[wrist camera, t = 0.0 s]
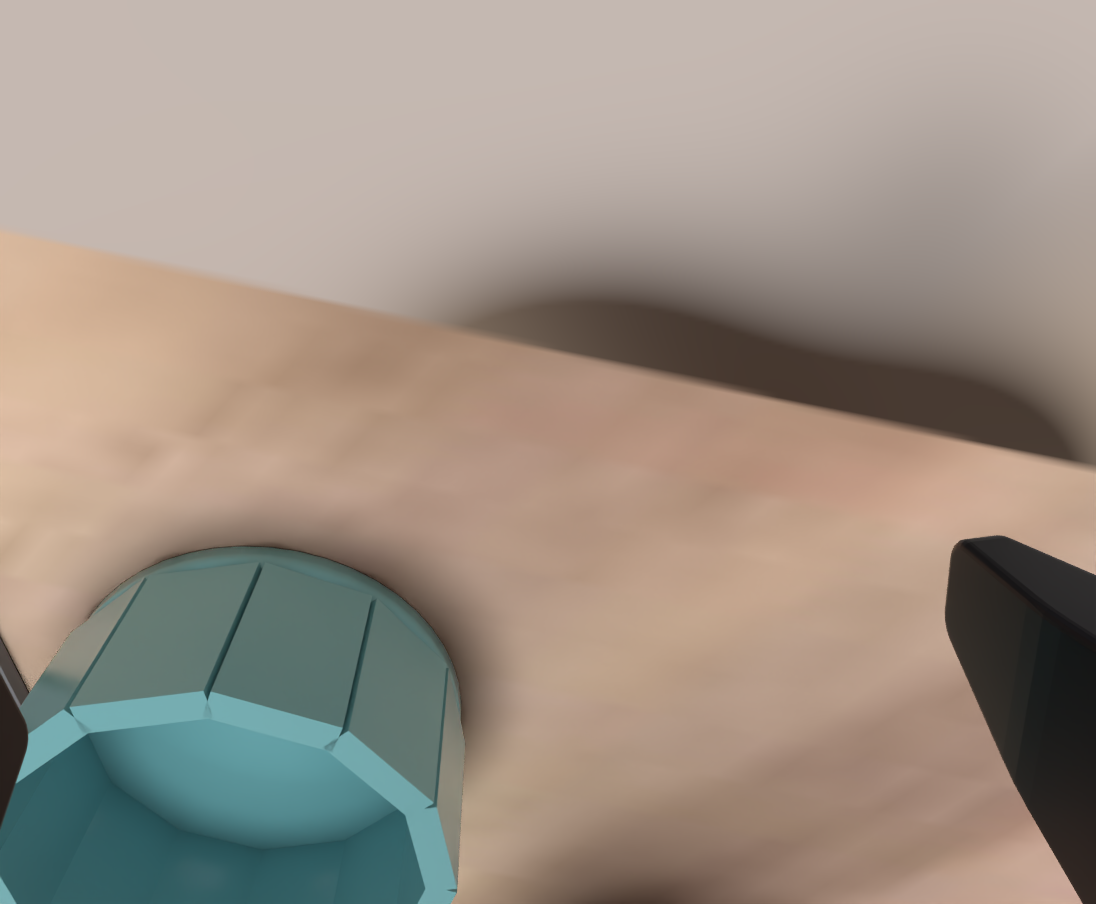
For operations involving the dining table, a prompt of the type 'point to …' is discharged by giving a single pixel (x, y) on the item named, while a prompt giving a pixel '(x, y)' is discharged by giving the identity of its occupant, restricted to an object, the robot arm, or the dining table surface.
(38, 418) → the dining table surface
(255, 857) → the bowl
